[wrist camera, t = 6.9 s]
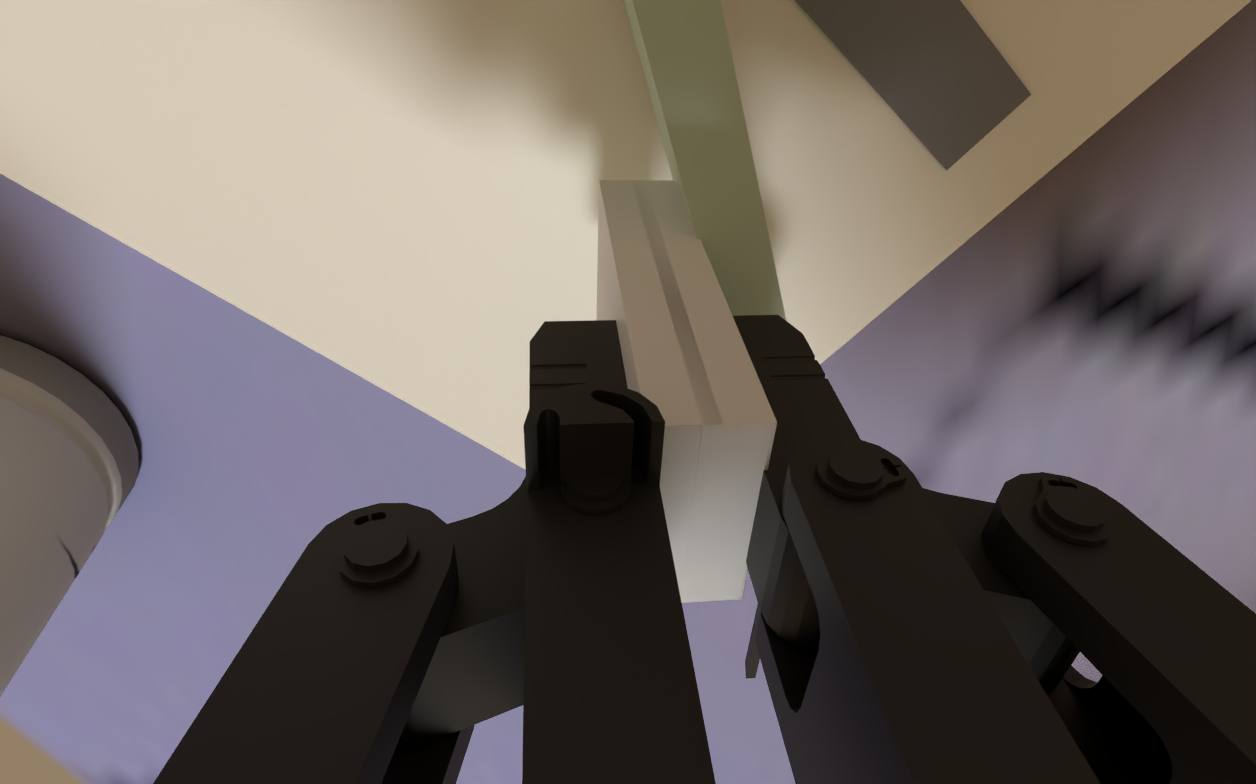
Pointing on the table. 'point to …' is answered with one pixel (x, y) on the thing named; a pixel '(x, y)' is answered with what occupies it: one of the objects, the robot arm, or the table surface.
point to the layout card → (540, 153)
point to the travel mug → (52, 487)
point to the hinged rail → (708, 143)
